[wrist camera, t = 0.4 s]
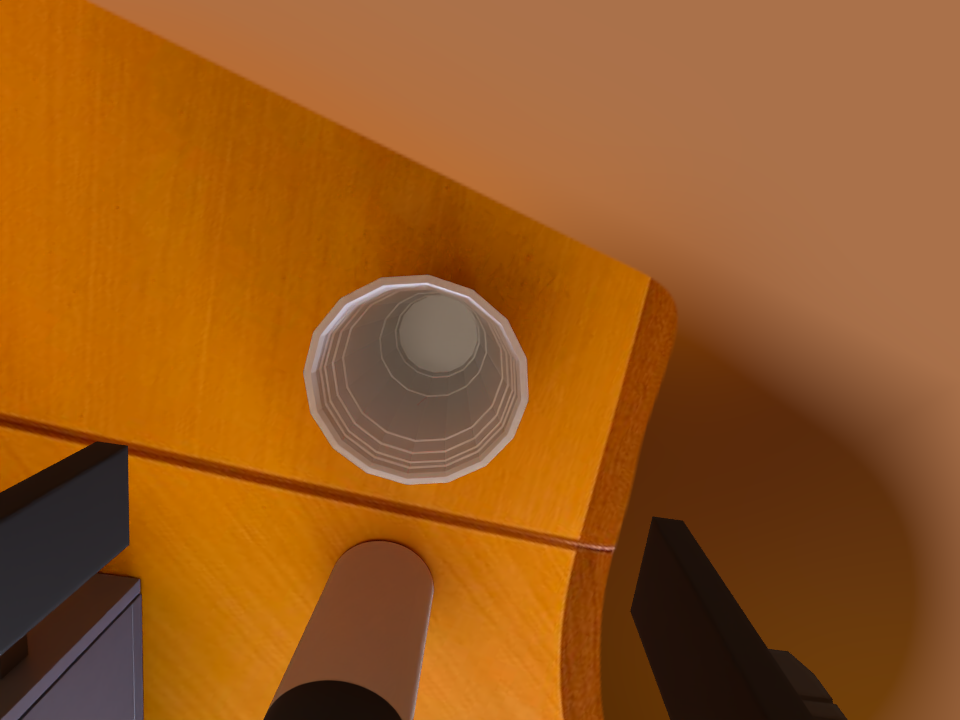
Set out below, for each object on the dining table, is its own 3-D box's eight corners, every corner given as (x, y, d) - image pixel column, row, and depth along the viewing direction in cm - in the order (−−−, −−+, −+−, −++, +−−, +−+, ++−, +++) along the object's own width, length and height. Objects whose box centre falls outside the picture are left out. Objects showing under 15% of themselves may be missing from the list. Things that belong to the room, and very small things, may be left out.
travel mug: (444, 551, 41) (409, 792, 24) (421, 637, 43) (373, 917, 26) (341, 527, 41) (229, 753, 23) (323, 614, 43) (207, 883, 25)
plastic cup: (387, 427, 39) (342, 514, 27) (340, 281, 36) (268, 307, 25) (534, 391, 38) (553, 465, 26) (496, 239, 35) (498, 246, 24)
